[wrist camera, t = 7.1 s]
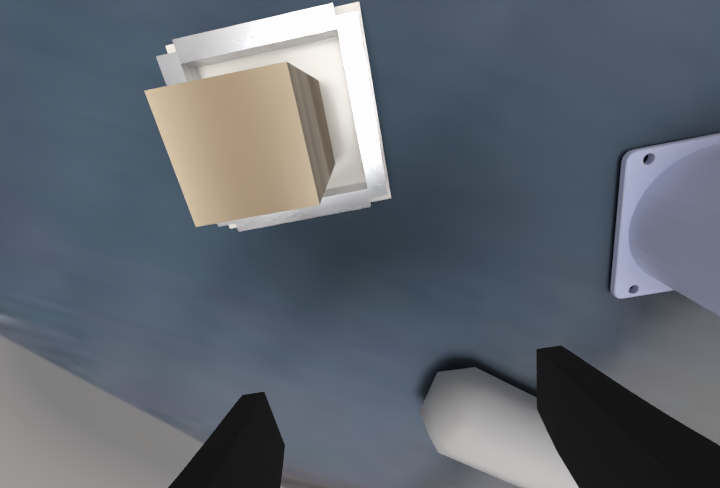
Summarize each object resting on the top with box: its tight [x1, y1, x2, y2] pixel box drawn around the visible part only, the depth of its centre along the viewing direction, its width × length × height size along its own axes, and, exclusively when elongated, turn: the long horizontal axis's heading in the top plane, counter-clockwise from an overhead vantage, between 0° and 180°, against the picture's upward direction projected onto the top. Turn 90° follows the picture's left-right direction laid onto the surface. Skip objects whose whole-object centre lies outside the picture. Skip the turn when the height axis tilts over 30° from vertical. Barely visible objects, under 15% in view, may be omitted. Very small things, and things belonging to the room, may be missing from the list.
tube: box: [420, 367, 579, 488], centre depth 22 cm, size 5×5×25 cm
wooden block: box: [145, 62, 335, 227], centre depth 12 cm, size 4×4×7 cm
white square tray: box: [156, 3, 388, 232], centre depth 15 cm, size 8×8×2 cm
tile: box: [166, 2, 391, 229], centre depth 16 cm, size 8×8×1 cm
